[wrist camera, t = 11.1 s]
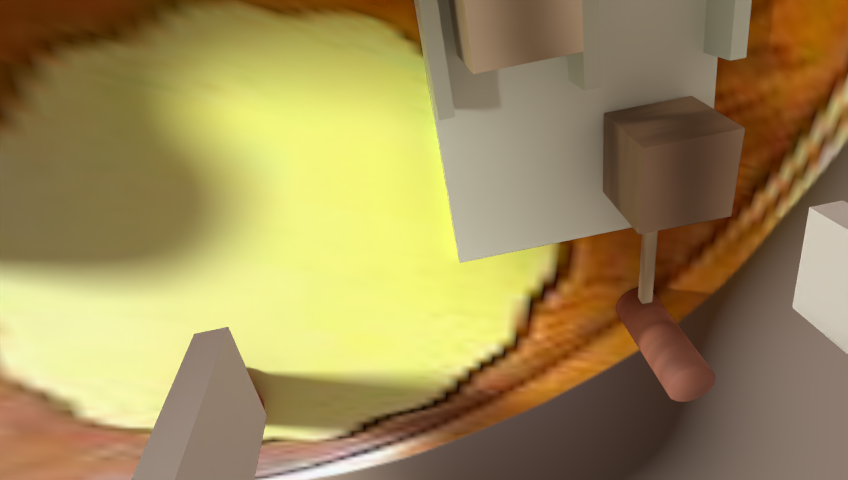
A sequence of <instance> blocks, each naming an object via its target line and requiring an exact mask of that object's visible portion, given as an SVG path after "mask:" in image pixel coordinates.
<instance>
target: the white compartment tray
mask: <svg viewBox="0 0 848 480" xmlns="http://www.w3.org/2000/svg"><path fill="white" fill-rule="evenodd" d="M414 4H415V10H416V16H417V22H418V27H419V33H420V39H421V45H422V50H423V56H424V62H425V68H426V73H427V79H428V85H429V91H430V97H431V102H432V108H433V114H434V120H435V125H436V131H437V137H438V143H439V149H440V154H441V160H442V166H443V172H444V177H445V183H446V189H447V195H448V200H449V206H450V212H451V218H452V224H453V229H454V235H455V241H456V247H457V252H458V257H459V261H460V263H461V262H466V261H471V260H476V259H481V258H486V257H490V256H495V255H500V254H505V253H510V252H515V251H520V250H524V249H529V248H534V247H539V246H544V245H549V244H554V243H558V242H563V241H568V240H573V239H578V238H583V237H588V236H592V235H597V234H602V233H607V232H612V231H617V230H622V229H626V228H631V227H632V226H631V225H630V224H629V222H628V221H627V220H626V219H625V218H624V216H623V215H622V214H621V213H620V212H619V210H618V209H617V208H616V207H615V206H614V204H613V203H612V202H611V201H610V200H609V198H608V197H607V196H606V195H605V194H604V192H603V143H604V113H607V112H612V111H617V110H622V109H627V108H632V107H637V106H642V105H648V104H653V103H658V102H663V101H668V100H673V99H678V98H683V97H688V96H693V97H695V98H696V99H698V100H700V101H701V102H703V103H705V104H706V105H708V106H710V107H711V108H713V109H714V101H715V88H716V74H717V61H718V57H719V58H723V59H726V60H729V61H732V60H737V59H742V58H746V55H747V45H748V34H749V24H750V14H751V4H752V0H582V14H583V40H584V52H580V53H575V54H570V55H565V56H560V57H555V58H550V59H546V60H541V61H536V62H531V63H526V64H521V65H516V66H511V67H507V68H502V69H497V70H492V71H487V72H482V73H477V74H473V73H472V72H471V71H470V70H469V68H468V67H467V66H466V65H465V64H464V63H463V61H462V60H461V59H460V58H459V57H458V56H457V54H456V47H455V40H454V33H453V26H452V19H451V12H450V5H449V0H414Z"/></svg>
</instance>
